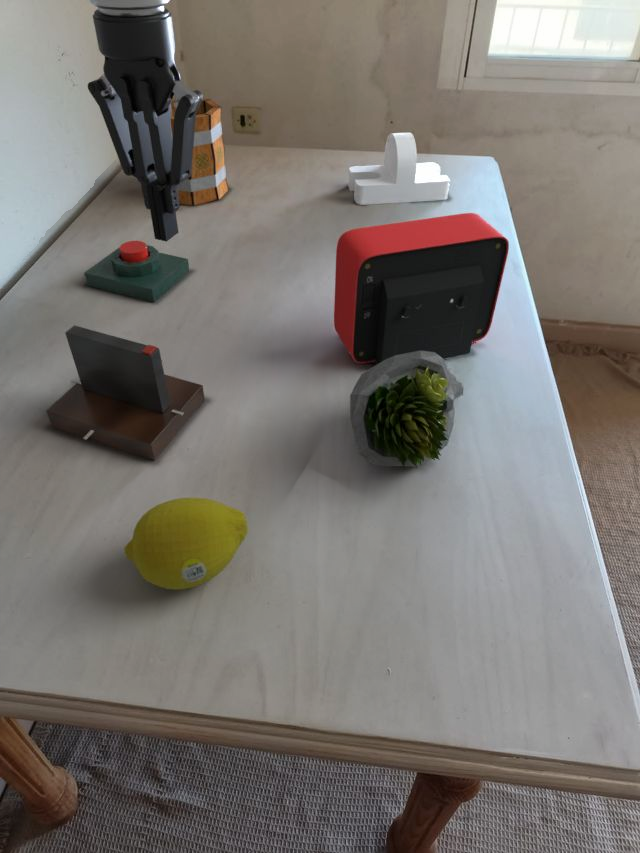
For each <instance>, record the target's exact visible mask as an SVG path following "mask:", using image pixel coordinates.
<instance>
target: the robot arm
mask: <svg viewBox="0 0 640 853" xmlns="http://www.w3.org/2000/svg"><path fill="white" fill-rule="evenodd" d="M170 1H171V0H89V2H90V4H92V5H93V6H94V7H95V8H96V7H97V9H95V10H94V12H93V14H92V20H93V25H94V32H95V35H96V41H97V46H98V51H99V52H100V54H101V55H102V56H103V57H104V62H103V65H102V66H103V68H102V69H103V74H101V76H100V77H98V78H97V79H94V80H91V81H90V82H88V83H87V90H88V91H89V93H90V95H91V96H92V97H93V100H94V101H95V102H96V104H97V105H98V107H99V109H100V113H101V115H102V118H103V121H104V123H105V126H106V128H107V131H108V133H109V134H108V135H109V138H110V139H111V142H112V144H113V148H114V150H115V152H116V156H117V158H118V161H119V164H120V166H121V169H122V172H123V173H124V174H125V175H126V176H127V177H130V176H132V177H134V178H135V179H137V181H138V182H139V183H140V187H141V192H142V198H143V204H144V205H145V208H146V210H149V212H150V217H151V222H152V229H153V235H154V239H155V240H158V241H162V242H168V241H170V240H171V239H172V238H174V237H175V236H176V235H177V234H179V227H178V226H179V224H178V220H177V212H178V211H179V210H180V205H181V204H179V198H178V190H177V185H178V184H180V183H181V182H183V181H184V180H186V179H187V178H189V177H190V176H191V168H192V157H193V145H194V133H195V122H196V113H197V111H198V109H199V106H200V104H201V102H202V99H203V98H204V97H203V93H202V92H201V91H200V90H198V89H195V90H193V91H192V90H191V89H190V88H189V87H188V86H186V84H185V83H184V82H182V81H181V74H180V71H179V69H178V67H177V65H176V63H175V52H176V41H175V34H174V25H173V16H172V13H171V12H170V11H169V9H168V8H166V7H165V6H167V4H168V3H169V2H170ZM173 98H175V102H174V107H175V108H177V109H176V111H175V115H174V126H173V137H172V130H171V123H170V119H171V116H172V111H171V104H170V103H171V101H172V99H173Z"/></svg>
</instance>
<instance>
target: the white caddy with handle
mask: <svg viewBox="0 0 640 853" xmlns="http://www.w3.org/2000/svg"><path fill="white" fill-rule="evenodd" d="M441 170H442V167H441V166H440V164H439V163H437V162H418V151H417V144H416V139H415V137H414V135H413V133H412V132H393V133H389V134H388V136H387V138H386V142H385V148H384V157H383V164H374V165H373V164H371V165H353V166H350V167H349V168H348V182H347V186H348V190H349V191H350V192H354V193H353V199H354V201H355V204H357V205H361V206H366V205H383V204H384V205H385V204H399V203H414V202H415V203H416V202H432V201H445V200H447V199H448V194H449V189H450V182H451V178H450V177H449V176H448V175H447V174H441Z"/></svg>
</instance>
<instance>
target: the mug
mask: <svg viewBox="0 0 640 853" xmlns="http://www.w3.org/2000/svg"><path fill="white" fill-rule="evenodd" d="M174 102H175V97H173V99H172V101H171V103H170V104H171V111H172V116H171V119H170V123H171V130H172V137H173V126H174V115H175V111H176V109H177V108H175V107H174ZM223 136H224V135H223V130H222V105H220V104H218V103H217V102H215V101H214V100H213V99H210V98H204V97H203V99H202V102H201V104H200V106H199V109H198V111H197V113H196V122H195V133H194V145H193V157H192V168H191V176H190V177H189V178H187V179H186V180H184V181H183V182H181V183H180V184H178V185H177V190H178V198H179V204H180V205H186V206H197V205H203V204H207V203H213V202H216V201H220V199H221V198H222V197H223V196H224V195H225V194H226V193H227V192H228V191H229V189H230V188H229V184H228V180H227V172H226V148H225V142H224V137H223Z"/></svg>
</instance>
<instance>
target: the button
mask: <svg viewBox="0 0 640 853" xmlns="http://www.w3.org/2000/svg"><path fill="white" fill-rule="evenodd" d="M147 245H148V244H147V243H146V242H145V241H142V240H141V241H140V240H128V241H126V242H123V243H121V245H120V246H119V247H120V248H119V247H118V248H119V249H120V254H121V258H122V260H123V261H125V262H129V263H130V262H140V261H143V260H146V259H147V258H148V256H149V255H148V250H147Z"/></svg>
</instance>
